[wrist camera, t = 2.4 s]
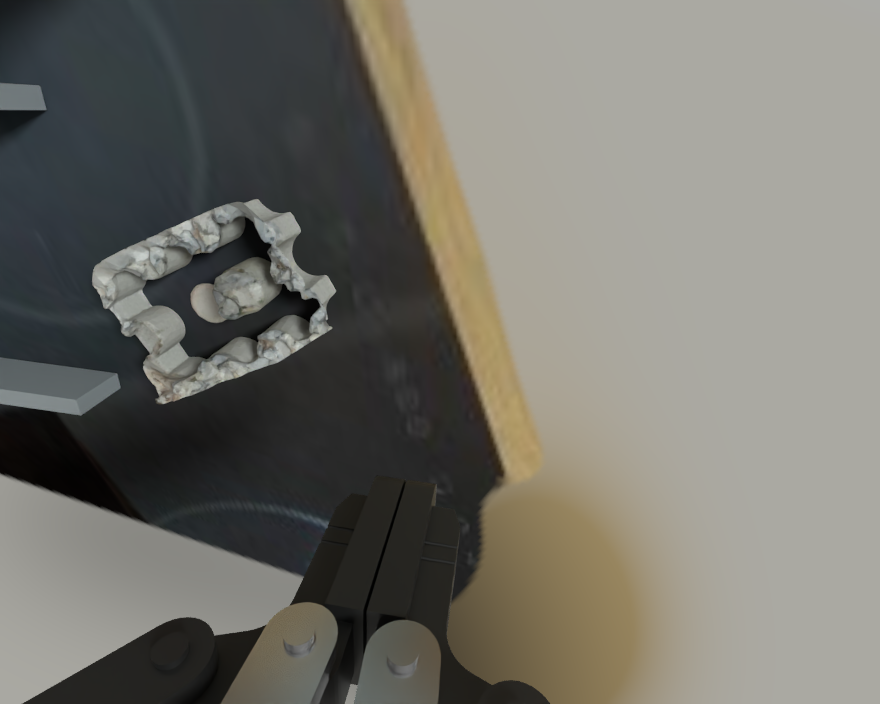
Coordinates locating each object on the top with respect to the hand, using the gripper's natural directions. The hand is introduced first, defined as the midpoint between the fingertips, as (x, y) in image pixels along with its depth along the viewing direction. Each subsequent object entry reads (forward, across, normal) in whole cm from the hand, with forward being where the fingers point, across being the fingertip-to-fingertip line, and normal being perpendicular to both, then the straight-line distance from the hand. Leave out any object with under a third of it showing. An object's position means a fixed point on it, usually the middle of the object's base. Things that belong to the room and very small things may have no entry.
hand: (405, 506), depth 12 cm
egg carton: (+14, +12, 0) cm, 18 cm away
